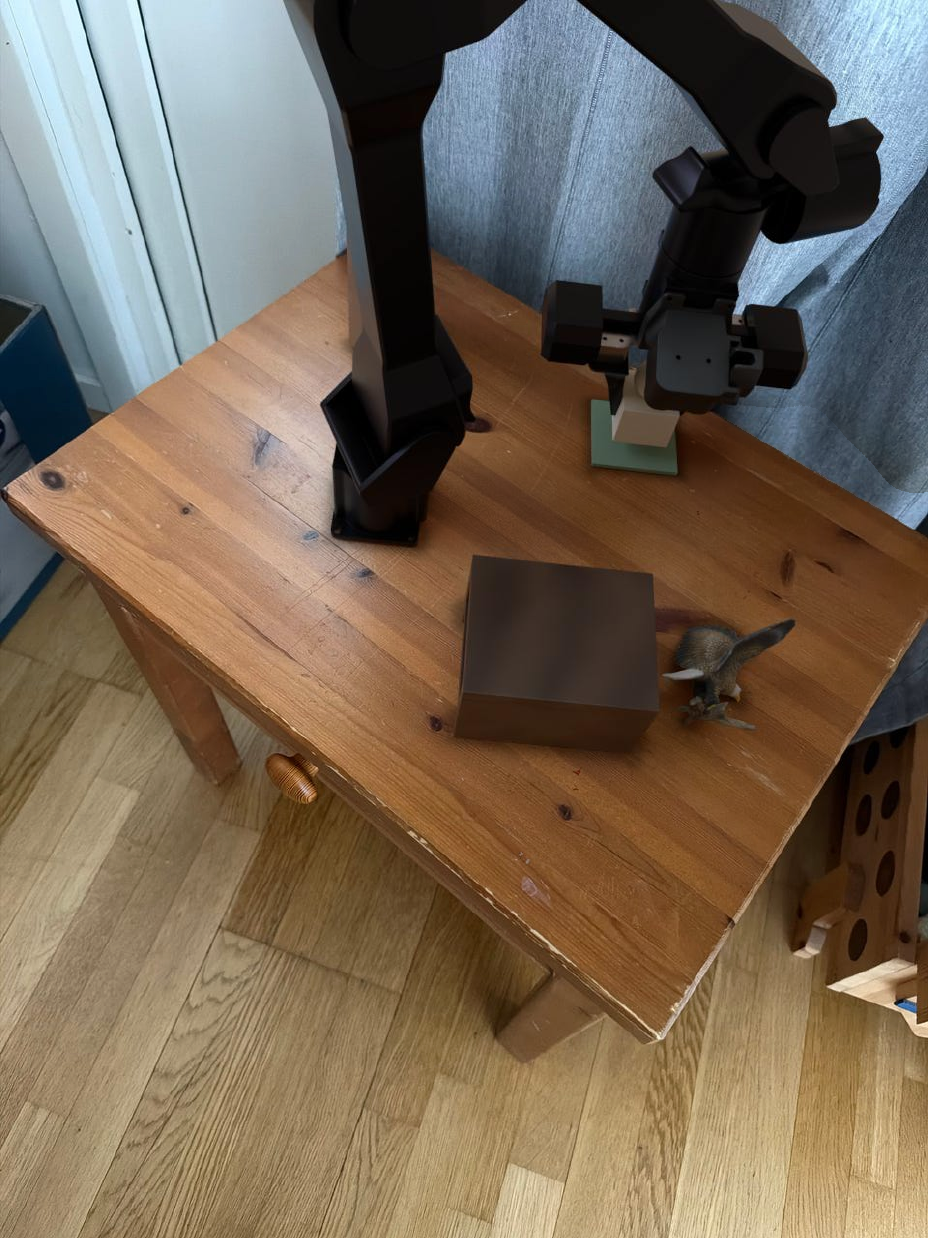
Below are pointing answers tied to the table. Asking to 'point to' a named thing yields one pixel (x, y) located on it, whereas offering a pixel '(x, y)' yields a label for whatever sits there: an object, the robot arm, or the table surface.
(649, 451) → the coaster
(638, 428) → the cream cube with ball
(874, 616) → the table surface
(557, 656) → the dark brown wooden box
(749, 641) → the eagle figurine
